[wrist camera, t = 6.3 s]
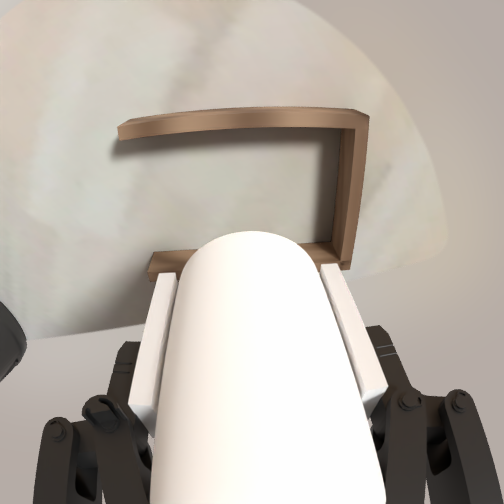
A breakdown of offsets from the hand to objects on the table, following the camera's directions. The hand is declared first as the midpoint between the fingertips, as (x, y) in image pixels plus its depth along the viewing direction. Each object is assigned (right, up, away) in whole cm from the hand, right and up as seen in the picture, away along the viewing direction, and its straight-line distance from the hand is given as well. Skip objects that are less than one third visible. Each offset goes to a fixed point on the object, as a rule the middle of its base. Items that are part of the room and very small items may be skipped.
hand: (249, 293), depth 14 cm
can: (0, 0, +1) cm, 1 cm away
